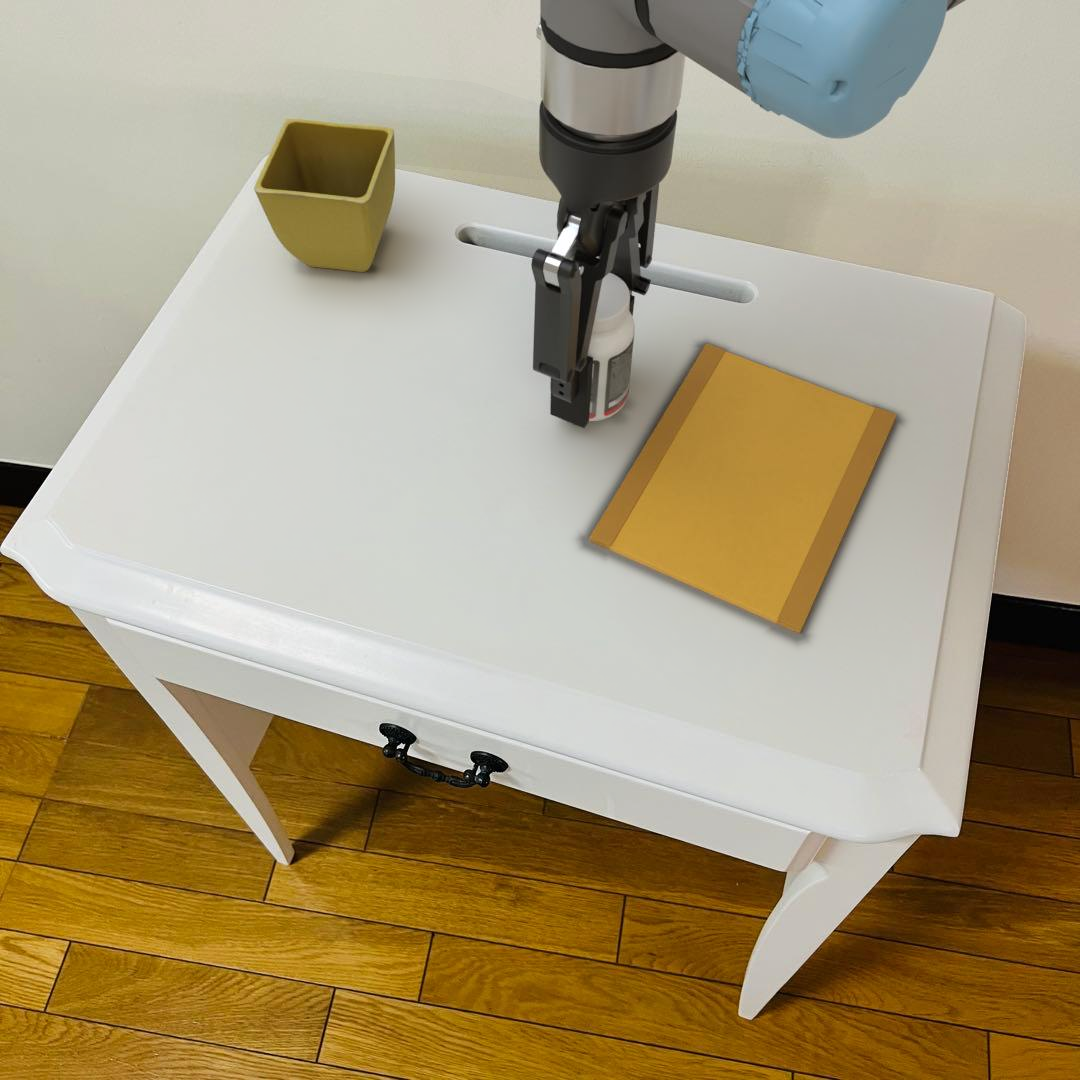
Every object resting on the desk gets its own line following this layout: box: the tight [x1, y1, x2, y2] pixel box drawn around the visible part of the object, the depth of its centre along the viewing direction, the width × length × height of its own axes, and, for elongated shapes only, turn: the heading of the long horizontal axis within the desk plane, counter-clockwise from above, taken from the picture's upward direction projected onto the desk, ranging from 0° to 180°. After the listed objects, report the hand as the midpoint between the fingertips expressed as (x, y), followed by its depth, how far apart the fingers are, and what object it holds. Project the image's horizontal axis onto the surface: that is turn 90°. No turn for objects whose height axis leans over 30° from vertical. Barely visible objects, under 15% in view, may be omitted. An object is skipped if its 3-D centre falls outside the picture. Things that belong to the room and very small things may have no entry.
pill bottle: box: [549, 272, 636, 422], centre depth 72 cm, size 6×6×10 cm
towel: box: [589, 343, 898, 634], centre depth 73 cm, size 15×20×1 cm
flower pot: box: [253, 118, 396, 273], centre depth 82 cm, size 9×9×9 cm
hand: (589, 386), depth 76 cm, fingers closed on pill bottle, 6 cm apart
